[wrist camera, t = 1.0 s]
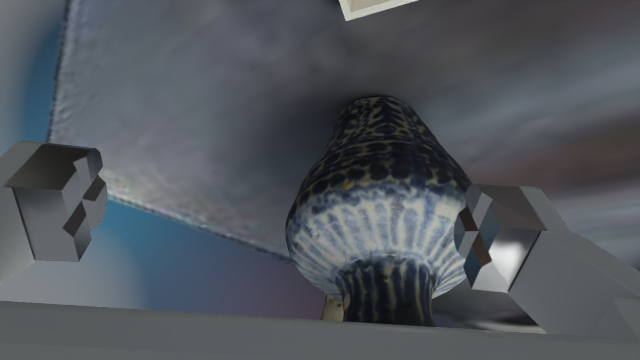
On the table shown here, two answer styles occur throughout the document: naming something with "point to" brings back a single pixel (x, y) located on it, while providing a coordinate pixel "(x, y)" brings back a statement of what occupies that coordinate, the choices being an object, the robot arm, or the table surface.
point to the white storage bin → (367, 7)
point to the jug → (379, 217)
